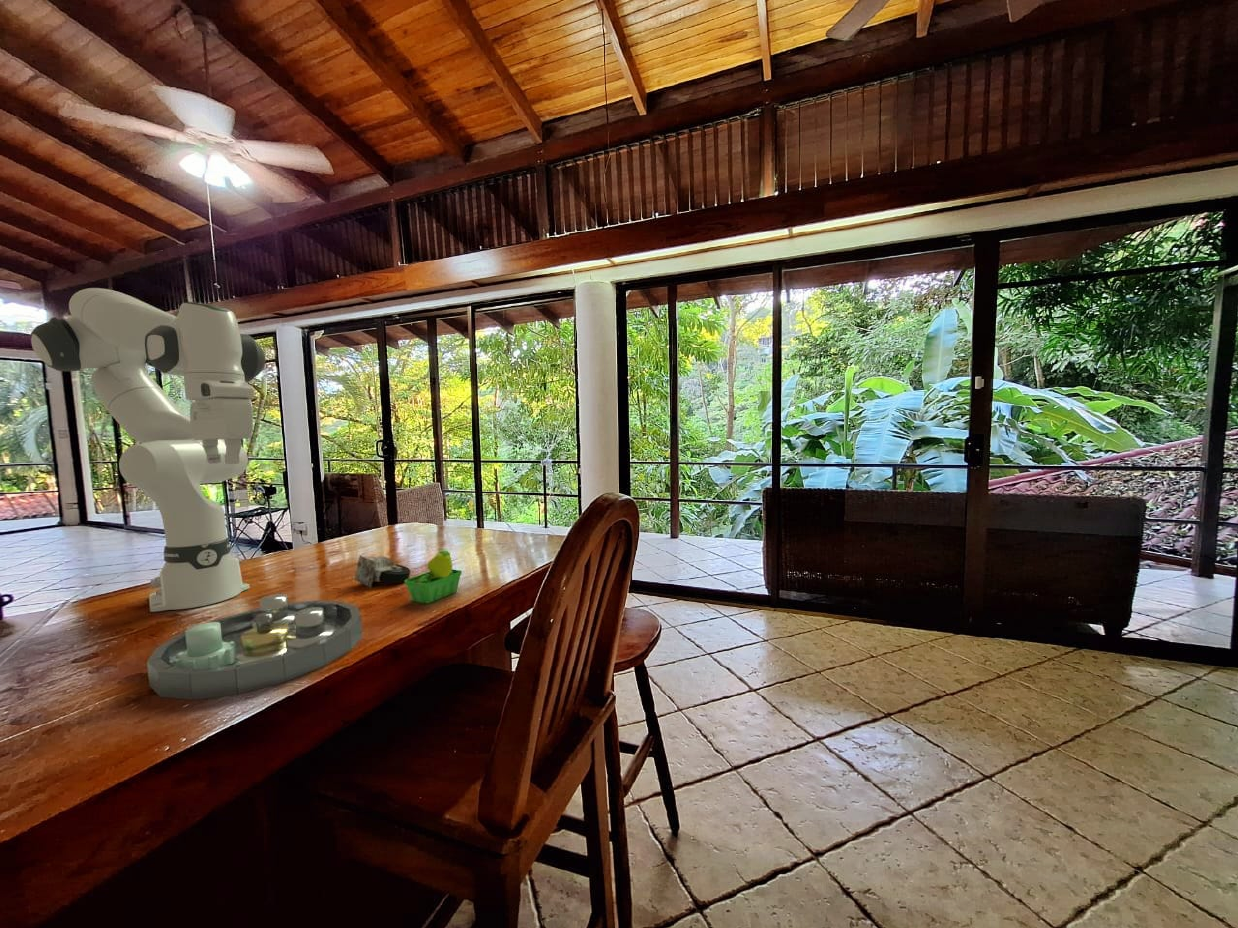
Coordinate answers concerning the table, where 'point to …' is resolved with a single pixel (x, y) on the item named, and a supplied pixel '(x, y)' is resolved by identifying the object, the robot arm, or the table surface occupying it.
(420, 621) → the table surface
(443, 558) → the fruit basket
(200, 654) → the planet gear
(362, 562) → the caster wheel
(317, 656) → the tray
